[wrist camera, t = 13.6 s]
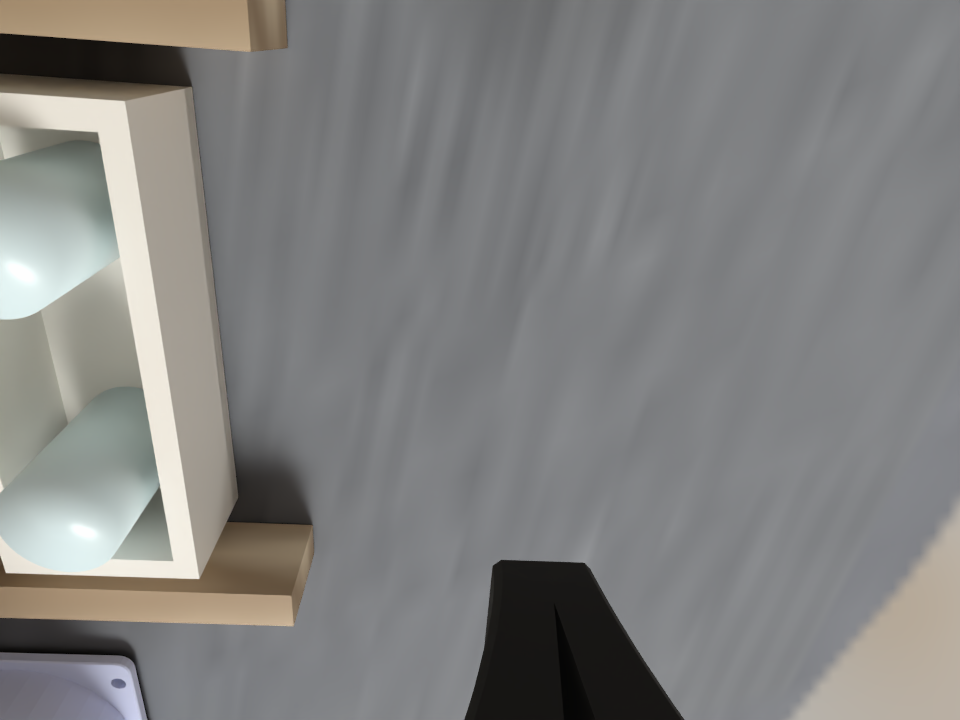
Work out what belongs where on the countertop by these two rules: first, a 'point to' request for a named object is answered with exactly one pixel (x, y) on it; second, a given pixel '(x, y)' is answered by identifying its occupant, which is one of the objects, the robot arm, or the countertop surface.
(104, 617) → the light wooden angled piece
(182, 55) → the countertop surface
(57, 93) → the white box
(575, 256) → the countertop surface
